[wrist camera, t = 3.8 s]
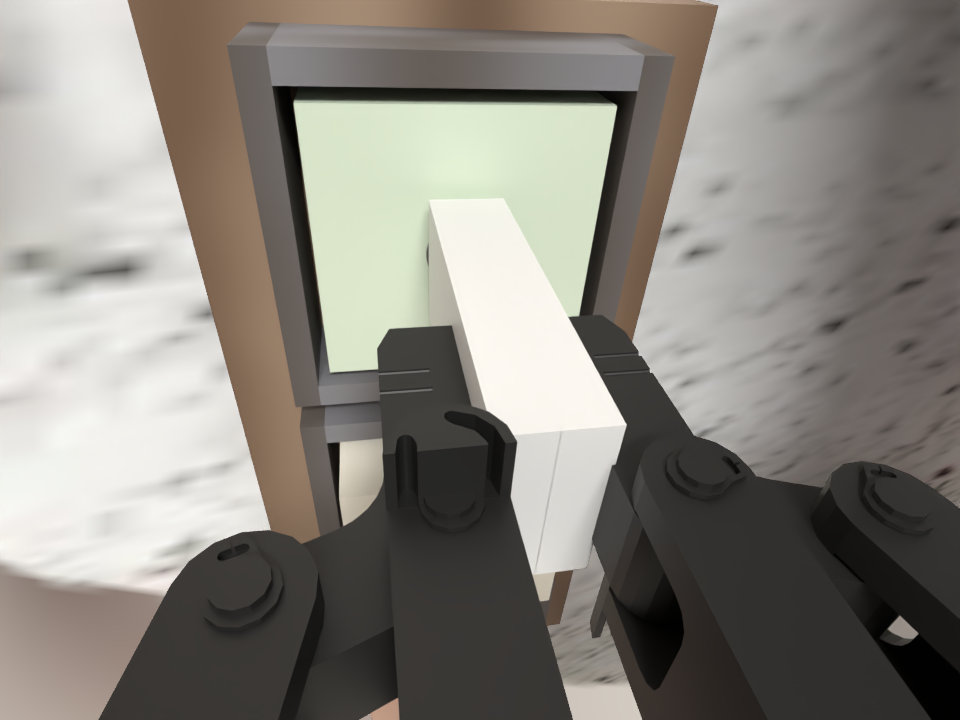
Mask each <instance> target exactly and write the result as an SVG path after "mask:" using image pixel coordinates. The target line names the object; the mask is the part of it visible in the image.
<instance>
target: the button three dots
mask: <svg viewBox="0 0 960 720" xmlns="http://www.w3.org/2000/svg"><path fill="white" fill-rule="evenodd" d="M382 453H383V441H382V438H379V439H368V440H357V441H346V442H340V478H339V501H340V508H341V514H342V521H343V526H344V525H346V524H348V523H350V522H352V521H353V520H355V519H356V518H357V517H358V516H360V515H361V514H362V513H363V512H364V511H366V510H367V509H368V507H369V506H370V505H371V504H372V502H373V501H374V500H375V498H376V497H377V495H378V493H379V491H380V488H381V486H382V484H383V477H384V473H383V459H382ZM554 575H555V572H553V573H545V574H538V575H533V578H534V582H535V586H536V589H537V593H538V596H539V600H540V601H547V600H549V597H550V593H551V588H552V584H553V580H554Z"/></svg>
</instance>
